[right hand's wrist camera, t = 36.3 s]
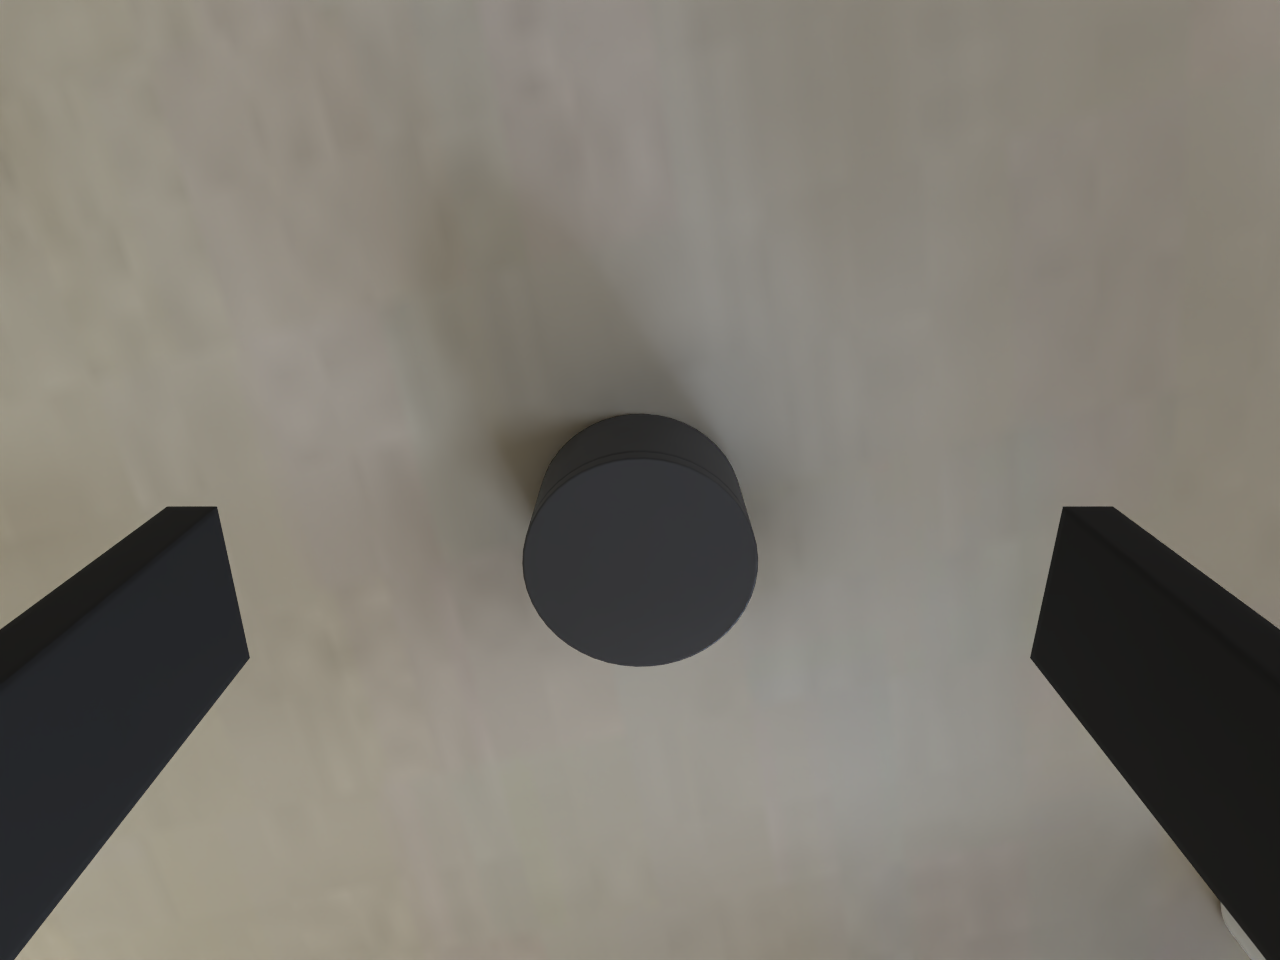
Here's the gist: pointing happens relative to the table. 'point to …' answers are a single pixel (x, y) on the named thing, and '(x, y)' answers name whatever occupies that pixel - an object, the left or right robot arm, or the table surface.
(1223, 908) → the bottle
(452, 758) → the table surface
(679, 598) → the cap
